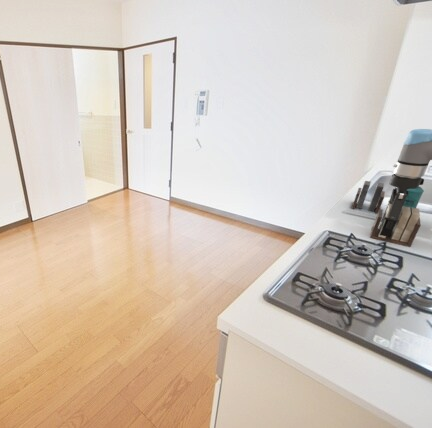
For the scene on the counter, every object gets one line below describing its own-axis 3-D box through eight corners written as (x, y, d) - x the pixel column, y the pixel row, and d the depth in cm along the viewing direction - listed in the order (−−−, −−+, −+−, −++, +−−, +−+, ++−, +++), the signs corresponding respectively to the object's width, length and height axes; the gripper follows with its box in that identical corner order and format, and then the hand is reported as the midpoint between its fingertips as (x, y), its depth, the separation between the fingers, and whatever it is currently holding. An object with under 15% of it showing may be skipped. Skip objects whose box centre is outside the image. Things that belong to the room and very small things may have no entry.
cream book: (385, 230, 109) (396, 204, 105) (385, 238, 104) (396, 211, 100) (378, 228, 111) (389, 203, 106) (378, 236, 105) (388, 210, 101)
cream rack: (409, 237, 106) (422, 208, 101) (410, 247, 100) (424, 217, 95) (371, 229, 113) (382, 201, 108) (370, 237, 107) (381, 209, 102)
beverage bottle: (383, 219, 119) (402, 174, 111) (404, 222, 116) (424, 176, 108) (389, 226, 114) (409, 179, 106) (411, 229, 111) (433, 181, 103)
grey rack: (377, 209, 128) (388, 182, 123) (376, 216, 122) (387, 188, 117) (352, 205, 134) (361, 179, 128) (350, 211, 128) (359, 184, 122)
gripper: (393, 165, 108) (374, 215, 117) (392, 182, 92) (370, 238, 100) (420, 168, 103) (398, 219, 112) (424, 187, 87) (399, 245, 96)
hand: (385, 228), depth 106 cm, fingers open, 13 cm apart
